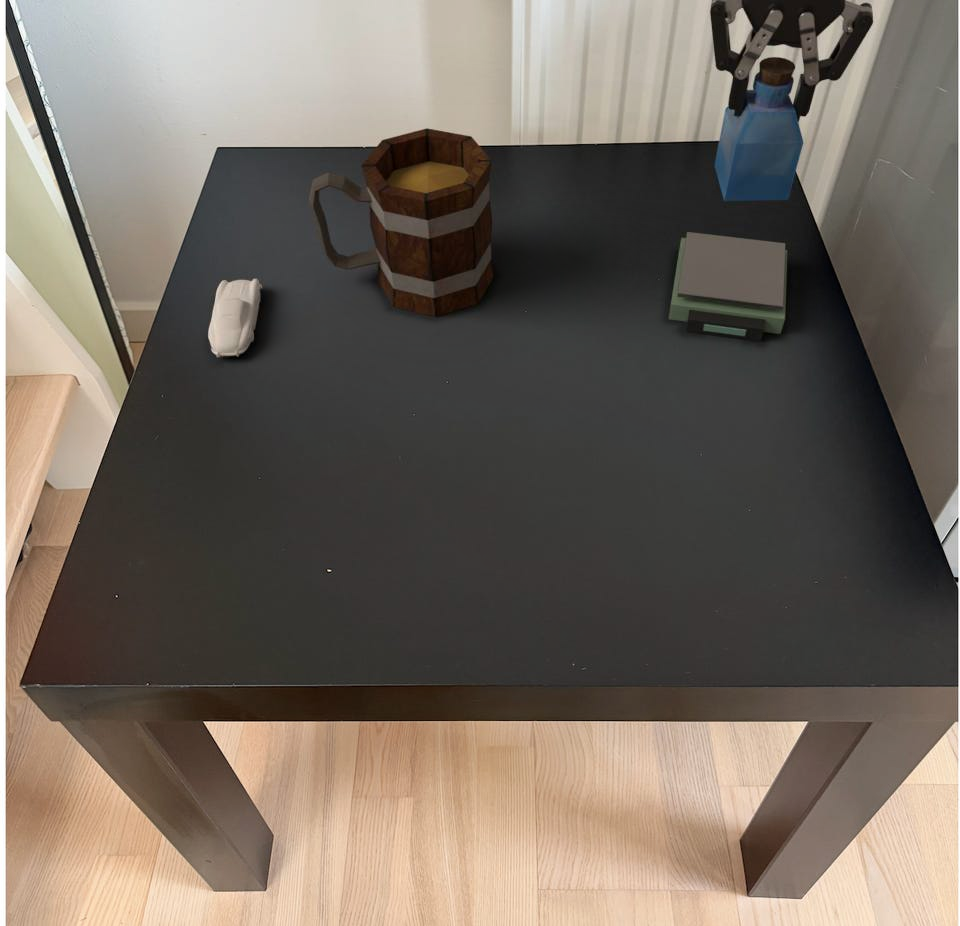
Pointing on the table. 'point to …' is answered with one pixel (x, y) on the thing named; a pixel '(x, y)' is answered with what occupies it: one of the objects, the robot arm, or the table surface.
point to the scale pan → (733, 271)
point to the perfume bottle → (761, 138)
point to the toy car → (234, 317)
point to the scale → (725, 313)
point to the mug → (422, 220)
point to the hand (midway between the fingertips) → (766, 114)
